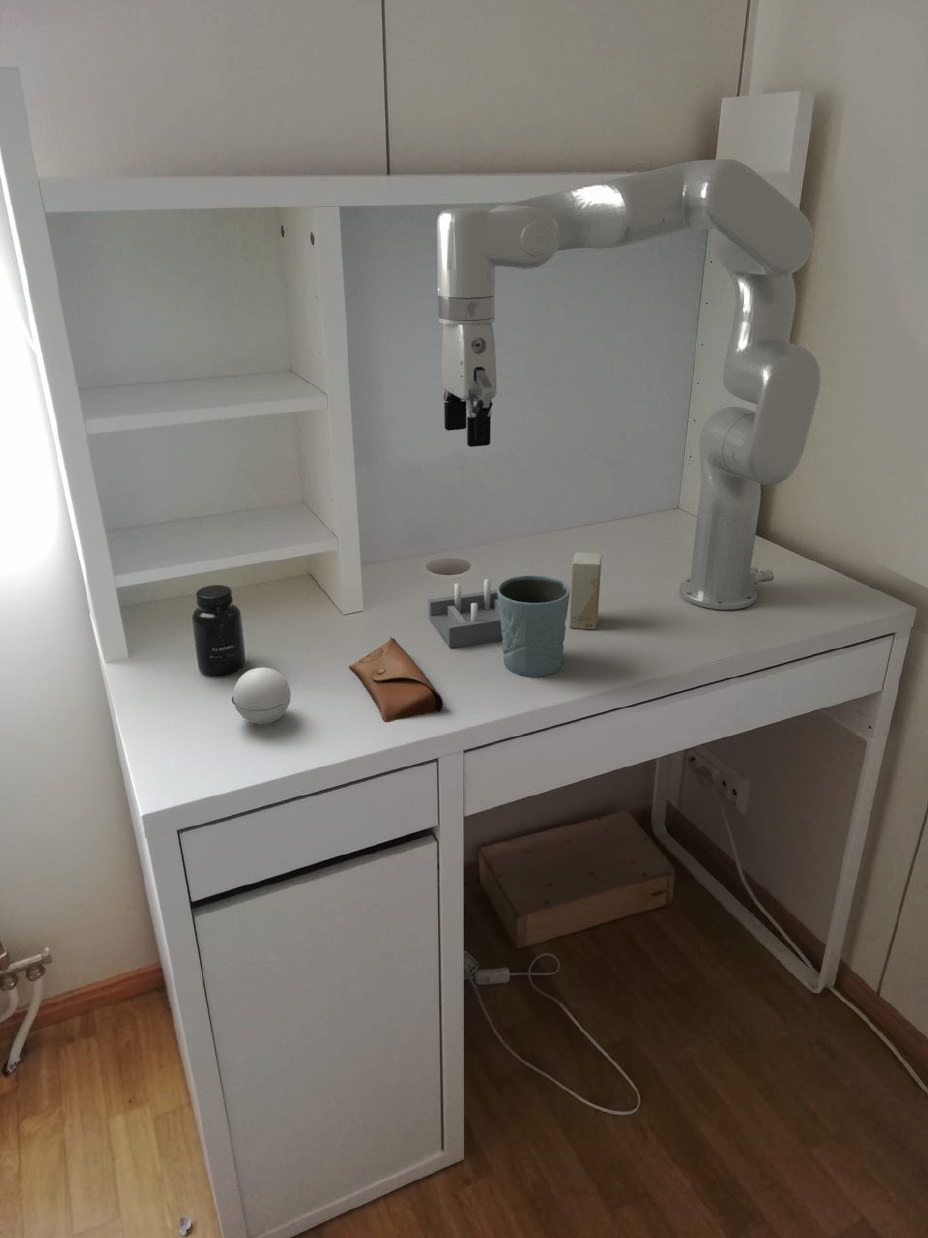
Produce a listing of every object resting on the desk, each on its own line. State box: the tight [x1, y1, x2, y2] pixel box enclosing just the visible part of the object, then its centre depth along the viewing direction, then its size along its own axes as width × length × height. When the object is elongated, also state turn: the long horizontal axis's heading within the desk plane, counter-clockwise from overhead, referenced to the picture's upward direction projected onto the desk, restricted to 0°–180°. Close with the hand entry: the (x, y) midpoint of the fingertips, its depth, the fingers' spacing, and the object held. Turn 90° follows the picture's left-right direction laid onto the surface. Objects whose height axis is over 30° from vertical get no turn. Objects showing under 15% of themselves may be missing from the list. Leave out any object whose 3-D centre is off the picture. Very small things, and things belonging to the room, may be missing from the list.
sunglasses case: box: [348, 636, 444, 723], centre depth 127 cm, size 18×7×7 cm
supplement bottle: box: [191, 584, 247, 677], centre depth 130 cm, size 7×7×12 cm
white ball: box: [231, 667, 292, 725], centre depth 117 cm, size 10×7×7 cm
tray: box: [427, 578, 503, 649], centre depth 143 cm, size 14×11×6 cm
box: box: [569, 552, 603, 630], centre depth 143 cm, size 5×4×11 cm
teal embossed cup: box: [496, 574, 571, 678], centre depth 130 cm, size 10×10×12 cm
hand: (466, 437), depth 128 cm, fingers open, 9 cm apart
